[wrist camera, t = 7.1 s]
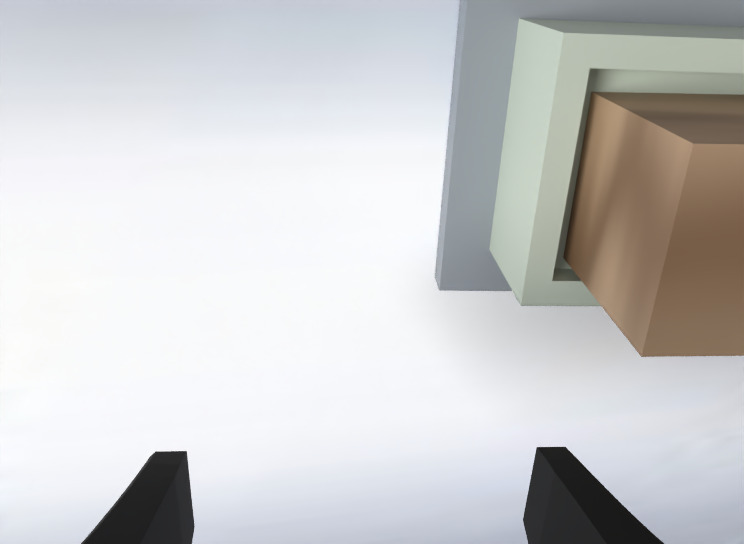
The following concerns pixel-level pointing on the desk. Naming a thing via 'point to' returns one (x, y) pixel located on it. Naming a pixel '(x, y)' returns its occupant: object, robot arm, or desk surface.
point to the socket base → (555, 122)
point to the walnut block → (663, 219)
